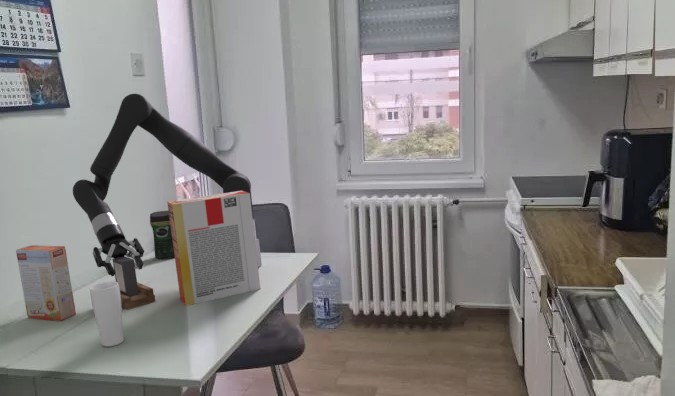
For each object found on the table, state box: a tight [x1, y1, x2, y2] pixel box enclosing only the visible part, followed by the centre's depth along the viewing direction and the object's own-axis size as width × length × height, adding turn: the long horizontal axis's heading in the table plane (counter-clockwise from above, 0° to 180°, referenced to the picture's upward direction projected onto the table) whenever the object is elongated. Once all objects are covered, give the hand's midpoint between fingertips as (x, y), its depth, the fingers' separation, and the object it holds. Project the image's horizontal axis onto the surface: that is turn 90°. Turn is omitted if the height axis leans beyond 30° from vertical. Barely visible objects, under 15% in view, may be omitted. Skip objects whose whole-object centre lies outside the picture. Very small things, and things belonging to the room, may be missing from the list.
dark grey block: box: [111, 256, 139, 297], centre depth 179 cm, size 8×4×11 cm, turn 42°
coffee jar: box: [149, 210, 175, 260], centre depth 230 cm, size 10×8×19 cm
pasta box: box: [166, 191, 261, 306], centre depth 176 cm, size 23×8×30 cm, turn 116°
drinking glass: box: [89, 281, 125, 348], centre depth 144 cm, size 7×7×15 cm
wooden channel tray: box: [120, 281, 156, 311], centre depth 179 cm, size 16×9×4 cm, turn 42°
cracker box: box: [15, 244, 77, 322], centre depth 169 cm, size 14×6×21 cm, turn 65°
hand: (127, 271), depth 177 cm, fingers open, 8 cm apart
